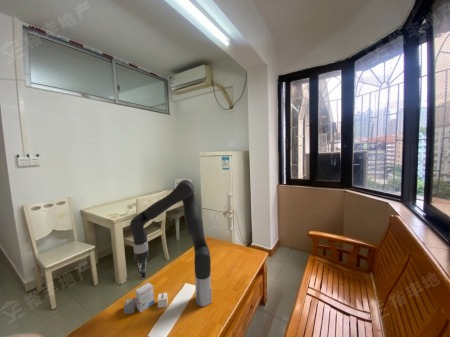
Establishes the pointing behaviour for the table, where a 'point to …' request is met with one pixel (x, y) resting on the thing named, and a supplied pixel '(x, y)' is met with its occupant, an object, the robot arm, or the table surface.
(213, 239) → the table surface
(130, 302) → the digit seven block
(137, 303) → the ink box
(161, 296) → the digit one block
